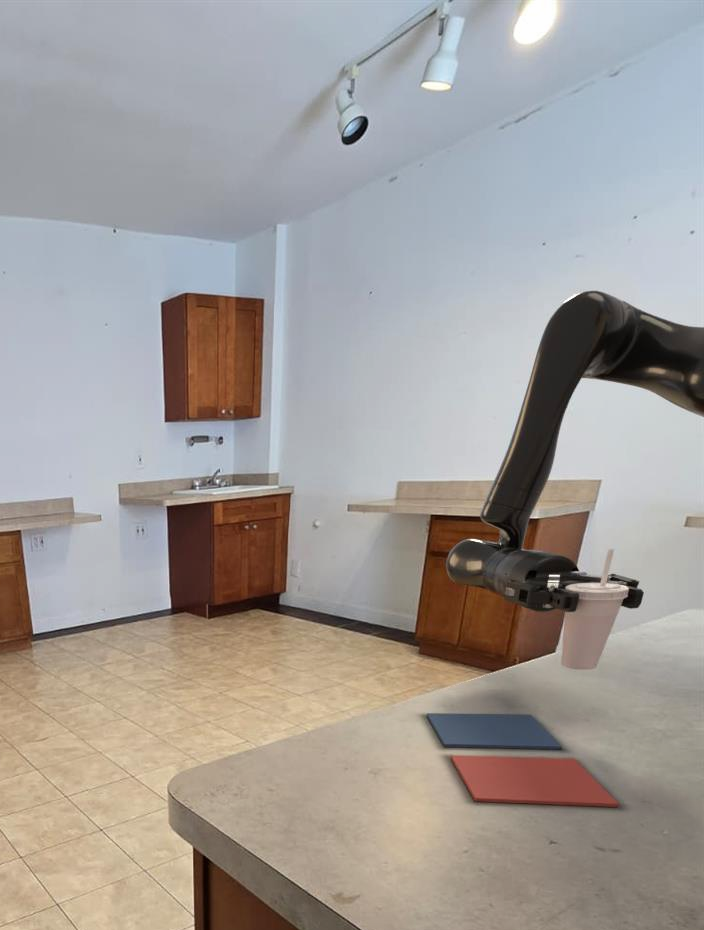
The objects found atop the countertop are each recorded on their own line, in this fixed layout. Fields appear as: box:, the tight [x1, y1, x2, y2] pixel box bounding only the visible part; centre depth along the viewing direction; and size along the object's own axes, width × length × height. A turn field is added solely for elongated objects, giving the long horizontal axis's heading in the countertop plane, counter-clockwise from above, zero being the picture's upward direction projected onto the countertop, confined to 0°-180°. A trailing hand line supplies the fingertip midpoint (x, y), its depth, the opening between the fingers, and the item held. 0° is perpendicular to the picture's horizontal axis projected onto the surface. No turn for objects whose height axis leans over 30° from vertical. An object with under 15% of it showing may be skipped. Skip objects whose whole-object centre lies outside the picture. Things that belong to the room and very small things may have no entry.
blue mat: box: [426, 712, 563, 750], centre depth 82 cm, size 13×11×1 cm
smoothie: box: [561, 548, 629, 671], centre depth 77 cm, size 6×6×14 cm
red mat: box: [450, 754, 619, 808], centre depth 69 cm, size 13×11×1 cm
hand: (606, 601), depth 75 cm, fingers closed on smoothie, 6 cm apart
